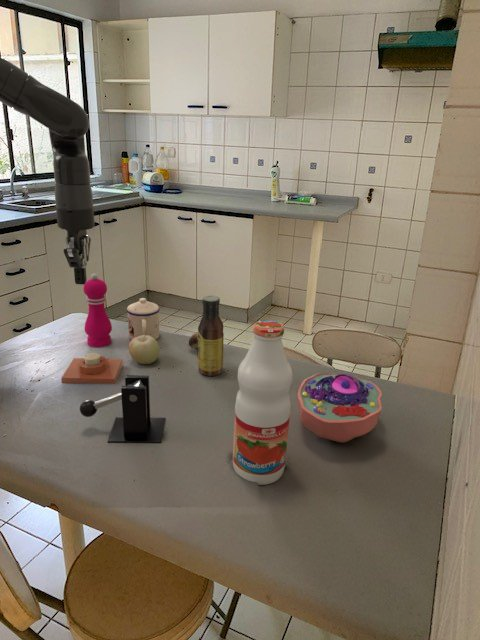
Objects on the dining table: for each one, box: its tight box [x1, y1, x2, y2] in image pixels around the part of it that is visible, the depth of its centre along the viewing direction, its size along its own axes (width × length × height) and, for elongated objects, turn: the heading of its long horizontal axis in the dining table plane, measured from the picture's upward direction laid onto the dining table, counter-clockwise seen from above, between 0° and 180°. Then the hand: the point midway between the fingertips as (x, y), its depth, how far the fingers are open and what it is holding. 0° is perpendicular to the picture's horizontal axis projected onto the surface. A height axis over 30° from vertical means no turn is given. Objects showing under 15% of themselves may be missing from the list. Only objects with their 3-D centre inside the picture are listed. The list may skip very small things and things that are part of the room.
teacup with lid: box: [126, 297, 160, 341], centre depth 130 cm, size 12×9×12 cm
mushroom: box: [188, 331, 198, 350], centre depth 126 cm, size 8×8×6 cm
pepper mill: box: [82, 272, 113, 348], centre depth 125 cm, size 7×7×20 cm
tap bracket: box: [107, 374, 166, 444], centre depth 89 cm, size 10×8×12 cm
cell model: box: [296, 372, 383, 444], centre depth 93 cm, size 17×20×11 cm
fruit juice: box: [232, 319, 294, 486], centre depth 78 cm, size 9×9×28 cm
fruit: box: [128, 334, 160, 365], centre depth 118 cm, size 8×7×8 cm
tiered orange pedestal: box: [60, 355, 124, 385], centre depth 111 cm, size 12×10×4 cm
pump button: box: [83, 352, 101, 366], centre depth 110 cm, size 4×4×2 cm
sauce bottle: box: [197, 294, 225, 377], centre depth 112 cm, size 7×6×20 cm
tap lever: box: [79, 380, 144, 418], centre depth 88 cm, size 13×3×3 cm, turn 92°
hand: (81, 283), depth 104 cm, fingers closed
